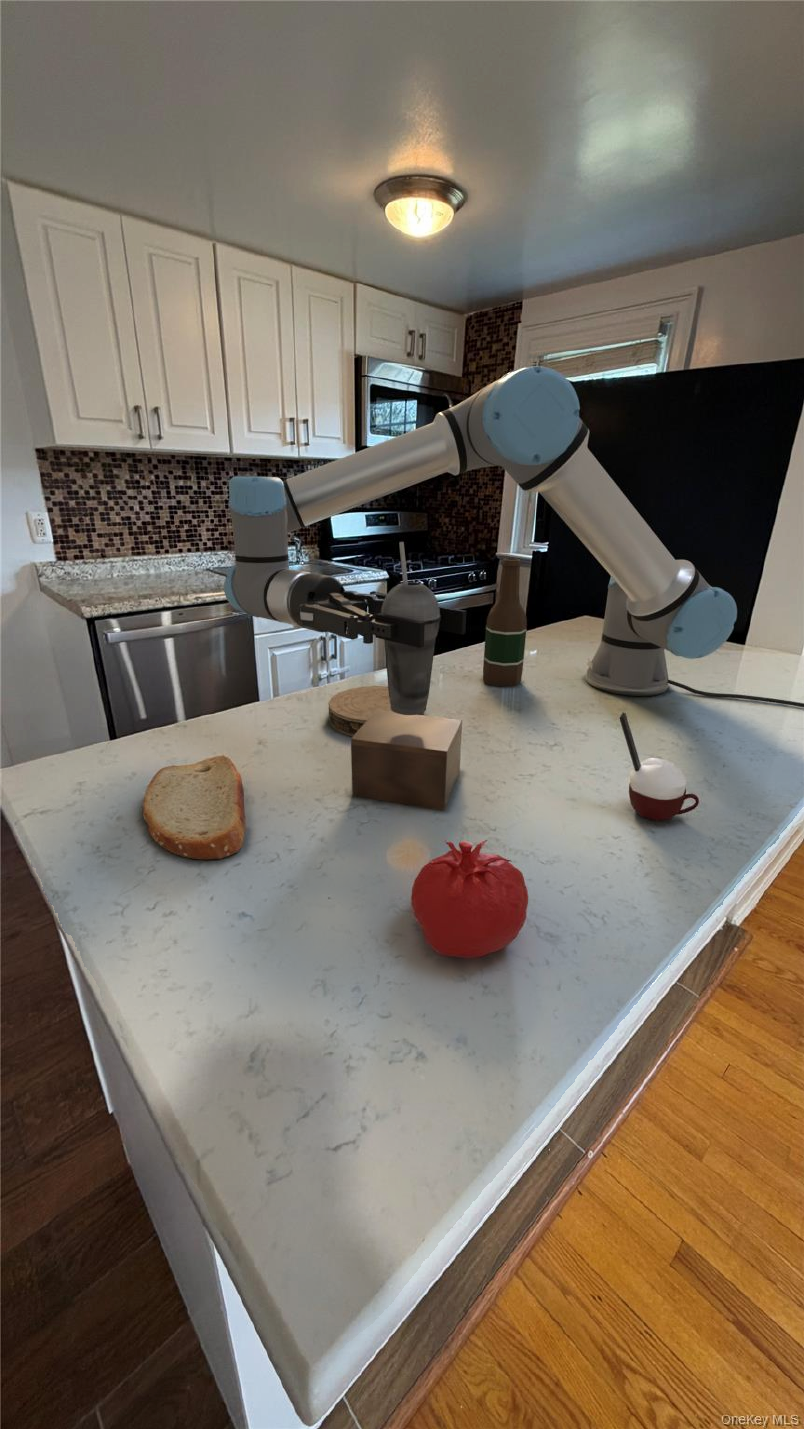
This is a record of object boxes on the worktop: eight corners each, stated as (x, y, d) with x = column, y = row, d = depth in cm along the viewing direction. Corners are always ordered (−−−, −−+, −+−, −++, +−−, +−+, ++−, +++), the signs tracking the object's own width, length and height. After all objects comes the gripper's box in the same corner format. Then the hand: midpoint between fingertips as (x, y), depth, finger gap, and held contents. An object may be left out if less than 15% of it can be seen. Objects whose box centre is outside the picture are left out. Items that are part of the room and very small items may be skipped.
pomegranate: (537, 971, 46) (550, 879, 43) (416, 978, 46) (418, 885, 42) (507, 890, 56) (515, 809, 52) (405, 895, 55) (407, 813, 51)
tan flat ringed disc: (390, 746, 85) (390, 728, 84) (309, 724, 93) (308, 707, 92) (440, 713, 98) (441, 697, 97) (365, 695, 106) (364, 680, 104)
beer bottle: (481, 686, 111) (490, 560, 102) (483, 673, 118) (491, 555, 109) (521, 688, 110) (534, 562, 101) (520, 676, 117) (532, 556, 108)
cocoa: (699, 820, 68) (722, 728, 63) (672, 838, 64) (694, 742, 59) (628, 788, 74) (643, 703, 70) (599, 803, 71) (614, 714, 66)
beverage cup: (432, 722, 67) (439, 546, 59) (373, 716, 68) (372, 544, 61) (441, 700, 73) (448, 540, 66) (386, 695, 75) (387, 538, 67)
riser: (459, 773, 78) (462, 719, 75) (444, 810, 69) (447, 751, 66) (376, 761, 81) (376, 709, 78) (352, 795, 72) (350, 738, 69)
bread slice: (221, 868, 58) (217, 838, 57) (88, 832, 64) (81, 804, 62) (307, 787, 74) (305, 761, 72) (193, 764, 80) (190, 740, 78)
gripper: (360, 616, 86) (489, 643, 72) (249, 641, 72) (384, 681, 58) (359, 565, 83) (494, 584, 69) (244, 581, 69) (384, 608, 55)
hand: (443, 628), depth 64 cm, fingers closed on beverage cup, 7 cm apart
